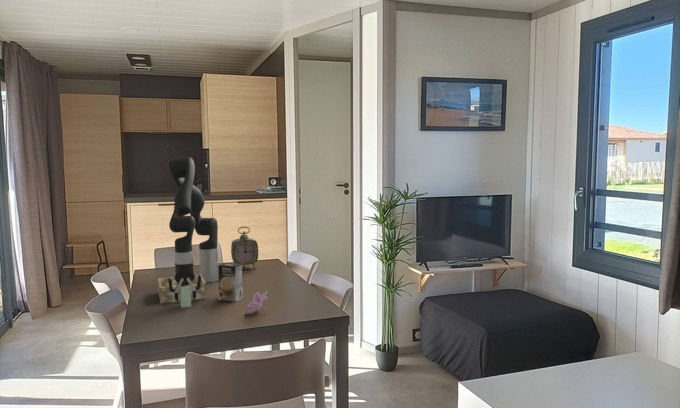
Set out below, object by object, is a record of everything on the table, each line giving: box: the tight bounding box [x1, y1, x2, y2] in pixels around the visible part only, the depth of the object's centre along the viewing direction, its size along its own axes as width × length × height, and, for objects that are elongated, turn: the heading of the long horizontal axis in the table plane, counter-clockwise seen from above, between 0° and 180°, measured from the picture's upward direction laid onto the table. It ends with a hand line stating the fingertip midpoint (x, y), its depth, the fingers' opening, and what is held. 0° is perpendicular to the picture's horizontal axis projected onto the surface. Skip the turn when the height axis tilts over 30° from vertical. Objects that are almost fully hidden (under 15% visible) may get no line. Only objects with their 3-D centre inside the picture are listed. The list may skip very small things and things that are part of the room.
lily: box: [244, 290, 269, 316], centre depth 208 cm, size 12×12×10 cm
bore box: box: [157, 276, 208, 304], centre depth 238 cm, size 20×20×7 cm
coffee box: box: [218, 262, 243, 302], centre depth 230 cm, size 9×6×16 cm
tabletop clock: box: [230, 226, 259, 270], centre depth 295 cm, size 14×9×25 cm, turn 111°
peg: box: [179, 287, 192, 309], centre depth 221 cm, size 4×4×8 cm
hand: (185, 299), depth 221 cm, fingers open, 6 cm apart
